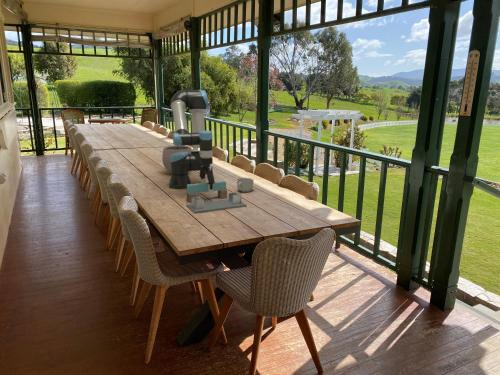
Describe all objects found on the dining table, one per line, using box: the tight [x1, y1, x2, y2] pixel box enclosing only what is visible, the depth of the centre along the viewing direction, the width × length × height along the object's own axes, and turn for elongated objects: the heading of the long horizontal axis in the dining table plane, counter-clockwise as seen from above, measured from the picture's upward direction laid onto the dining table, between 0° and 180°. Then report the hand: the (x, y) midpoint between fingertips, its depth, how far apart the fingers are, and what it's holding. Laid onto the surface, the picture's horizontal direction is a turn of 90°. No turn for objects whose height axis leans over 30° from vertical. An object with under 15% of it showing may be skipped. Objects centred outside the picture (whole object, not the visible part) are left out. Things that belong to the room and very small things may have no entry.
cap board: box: [186, 198, 247, 214], centre depth 223 cm, size 15×31×1 cm, turn 116°
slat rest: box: [186, 189, 228, 204], centre depth 236 cm, size 6×24×5 cm, turn 116°
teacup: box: [236, 177, 255, 193], centre depth 254 cm, size 14×11×8 cm
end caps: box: [190, 191, 242, 209], centre depth 222 cm, size 7×28×5 cm, turn 116°
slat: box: [186, 180, 227, 194], centre depth 235 cm, size 3×24×5 cm, turn 116°
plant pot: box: [161, 145, 193, 174], centre depth 301 cm, size 24×24×30 cm
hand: (207, 191), depth 235 cm, fingers open, 13 cm apart
